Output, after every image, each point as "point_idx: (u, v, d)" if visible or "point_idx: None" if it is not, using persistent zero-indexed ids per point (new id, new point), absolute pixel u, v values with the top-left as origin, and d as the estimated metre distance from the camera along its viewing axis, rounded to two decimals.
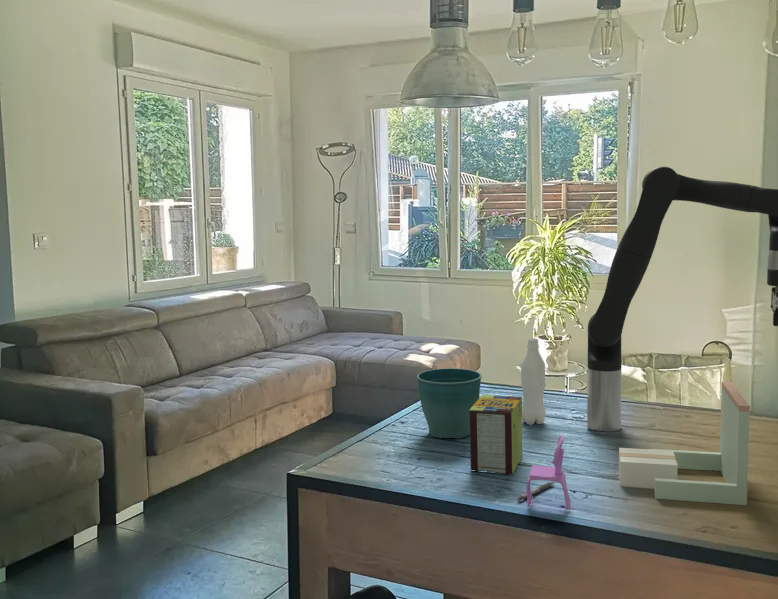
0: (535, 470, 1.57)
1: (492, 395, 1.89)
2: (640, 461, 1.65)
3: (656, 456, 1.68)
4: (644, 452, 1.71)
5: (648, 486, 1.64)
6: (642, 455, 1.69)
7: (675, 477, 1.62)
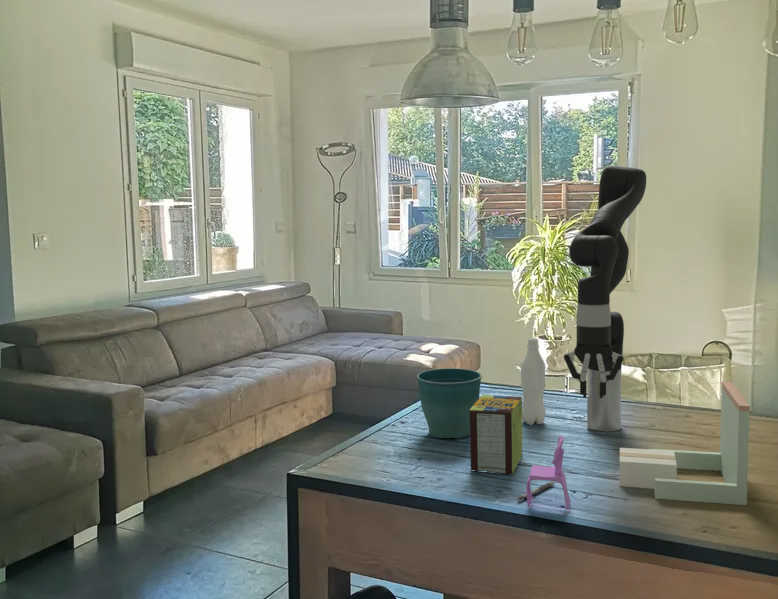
0: (535, 470, 1.57)
1: (492, 395, 1.89)
2: (639, 461, 1.65)
3: (656, 456, 1.68)
4: (644, 452, 1.71)
5: (647, 486, 1.64)
6: (642, 455, 1.69)
7: (674, 477, 1.62)
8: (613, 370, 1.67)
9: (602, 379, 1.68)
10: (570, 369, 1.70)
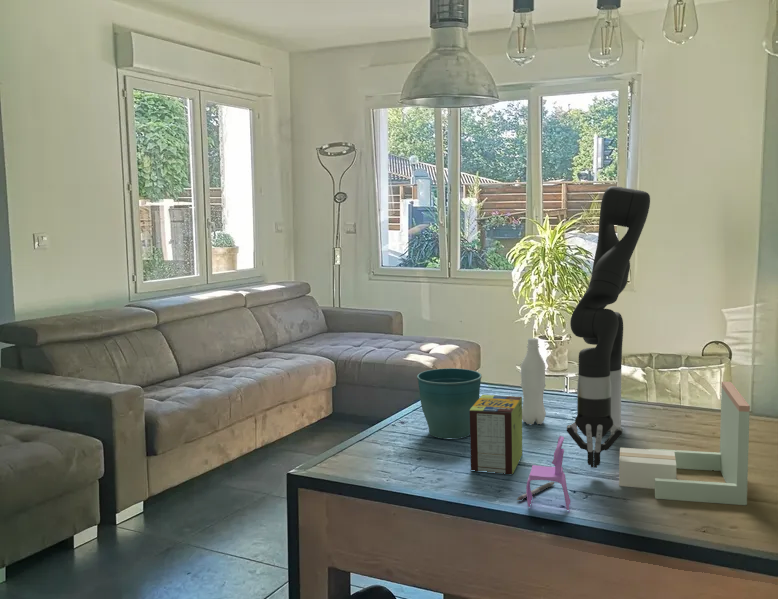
0: (535, 470, 1.57)
1: (492, 395, 1.89)
2: (639, 461, 1.65)
3: (656, 456, 1.68)
4: (644, 452, 1.71)
5: (647, 486, 1.64)
6: (642, 455, 1.69)
7: (674, 477, 1.62)
8: (609, 441, 1.69)
9: (596, 449, 1.70)
10: (576, 441, 1.71)
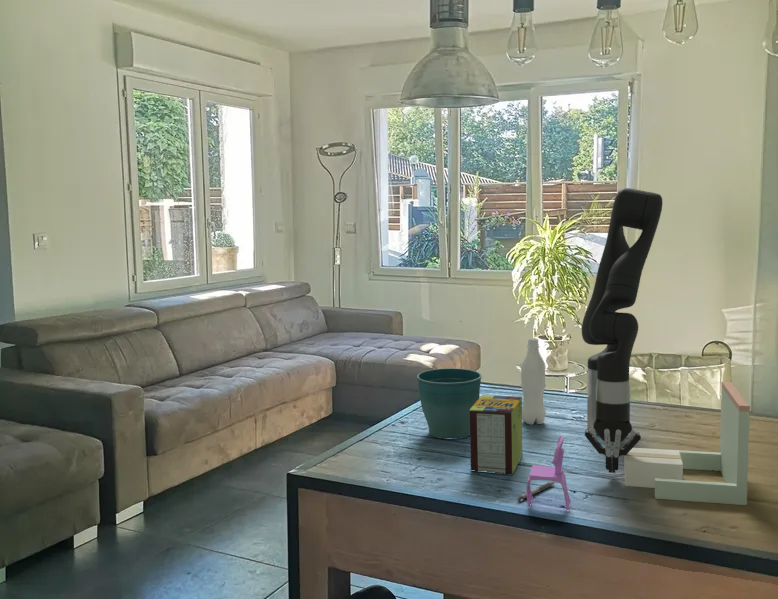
0: (535, 470, 1.57)
1: (492, 395, 1.89)
2: (645, 461, 1.65)
3: (661, 456, 1.68)
4: (649, 451, 1.71)
5: (653, 485, 1.64)
6: (647, 454, 1.69)
7: (680, 477, 1.62)
8: (627, 446, 1.68)
9: (615, 454, 1.69)
10: (594, 445, 1.70)
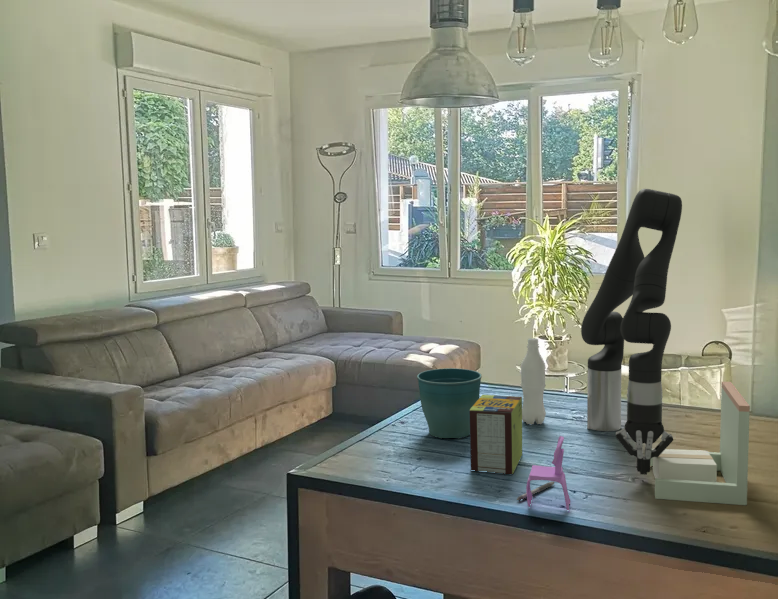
0: (535, 470, 1.57)
1: (492, 395, 1.89)
2: (678, 462, 1.64)
3: (693, 456, 1.67)
4: (679, 452, 1.70)
5: None
6: (678, 455, 1.68)
7: (714, 477, 1.62)
8: (659, 448, 1.66)
9: (646, 456, 1.67)
10: (625, 447, 1.68)
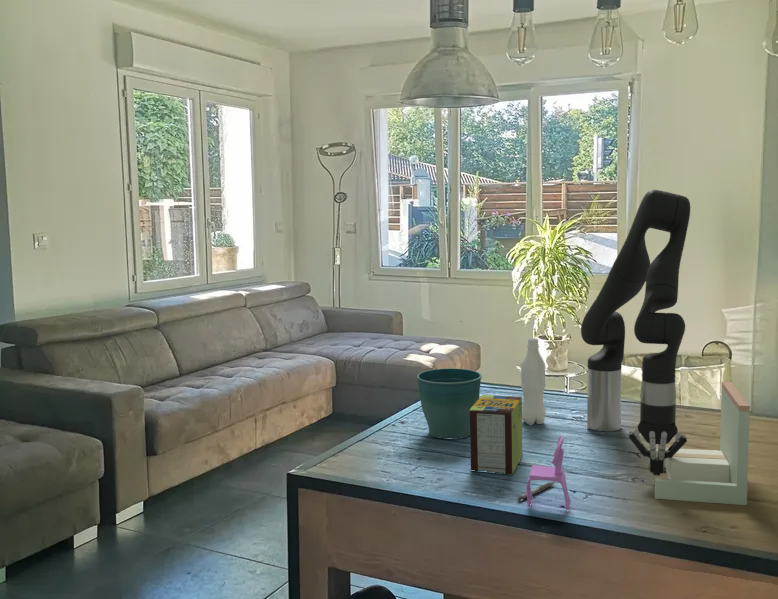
0: (535, 470, 1.57)
1: (492, 395, 1.89)
2: (691, 461, 1.64)
3: (706, 456, 1.67)
4: (692, 452, 1.71)
5: None
6: (691, 455, 1.68)
7: (727, 477, 1.62)
8: (673, 449, 1.65)
9: (660, 457, 1.66)
10: (639, 448, 1.67)
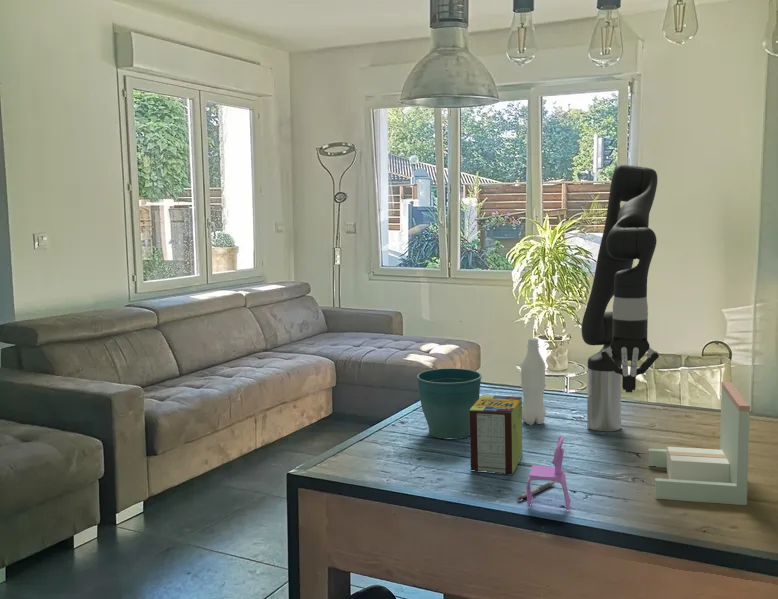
0: (535, 470, 1.57)
1: (492, 395, 1.89)
2: (691, 460, 1.65)
3: (706, 455, 1.68)
4: (693, 451, 1.71)
5: None
6: (692, 454, 1.68)
7: (727, 476, 1.62)
8: (645, 365, 1.65)
9: (632, 373, 1.66)
10: (611, 365, 1.67)
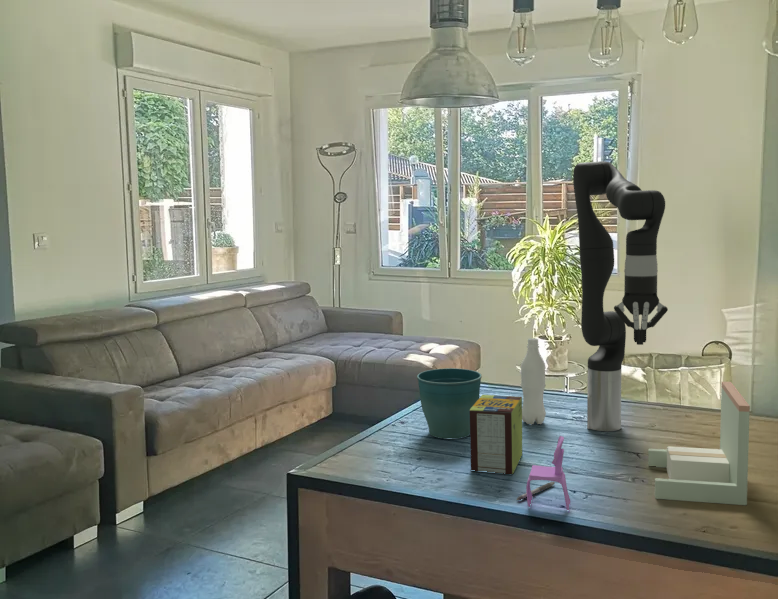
0: (535, 470, 1.57)
1: (492, 395, 1.89)
2: (690, 460, 1.65)
3: (706, 454, 1.68)
4: (693, 450, 1.71)
5: None
6: (692, 453, 1.69)
7: (727, 475, 1.62)
8: (655, 318, 1.77)
9: (643, 326, 1.78)
10: (623, 319, 1.79)
